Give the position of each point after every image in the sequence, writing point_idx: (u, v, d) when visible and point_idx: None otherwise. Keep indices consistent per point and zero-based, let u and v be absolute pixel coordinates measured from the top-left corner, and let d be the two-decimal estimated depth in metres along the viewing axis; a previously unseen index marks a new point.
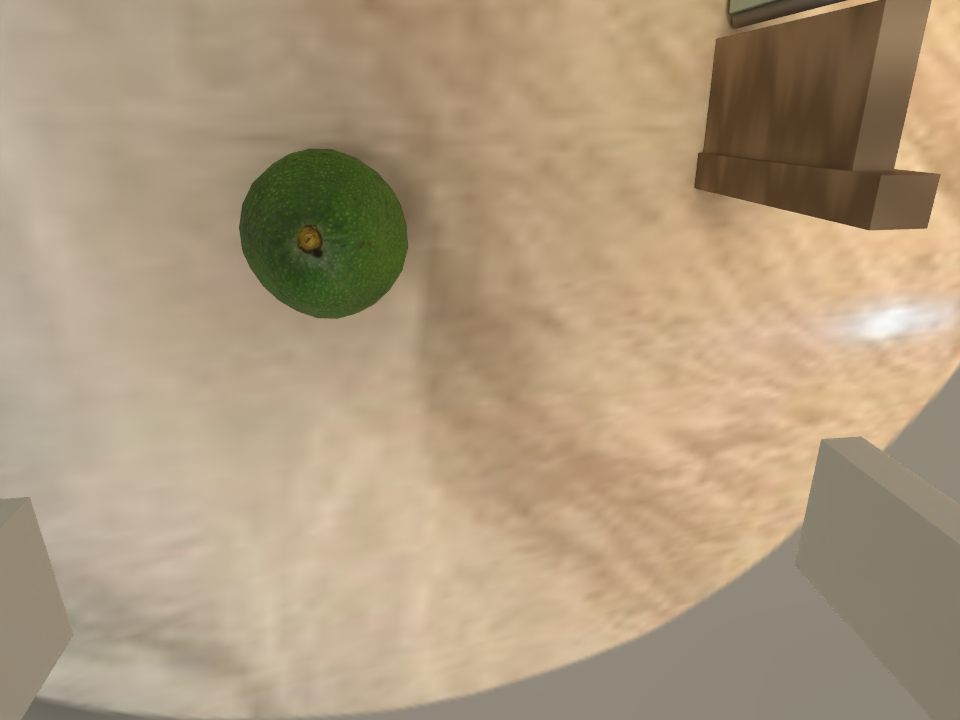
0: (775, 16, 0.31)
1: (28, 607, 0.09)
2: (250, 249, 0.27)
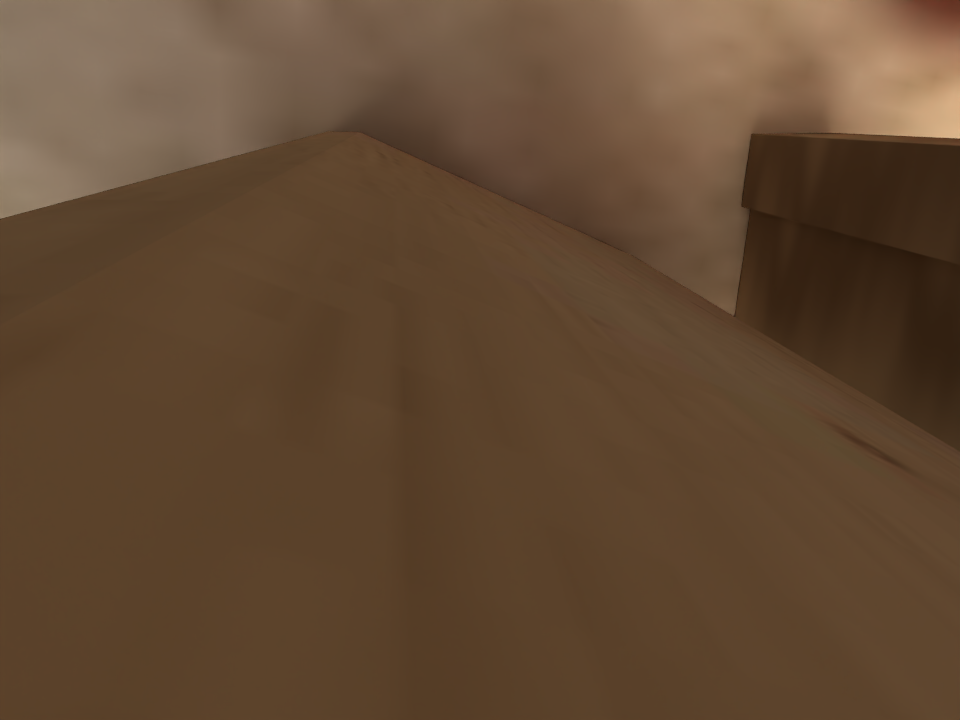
0: None
1: None
2: None
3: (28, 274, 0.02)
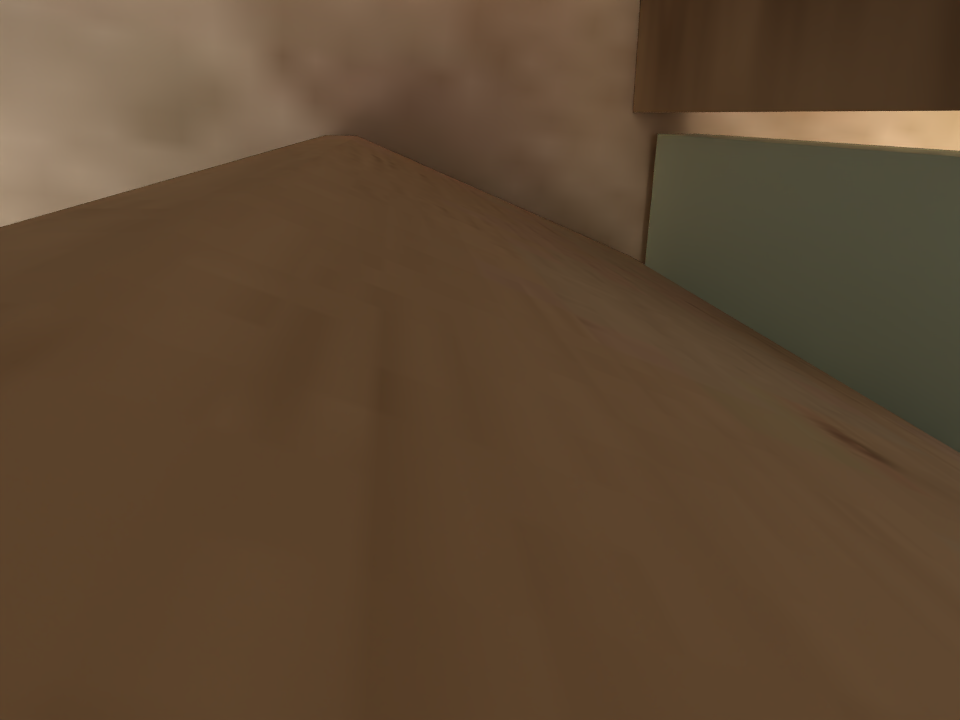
0: None
1: None
2: None
3: (18, 283, 0.02)
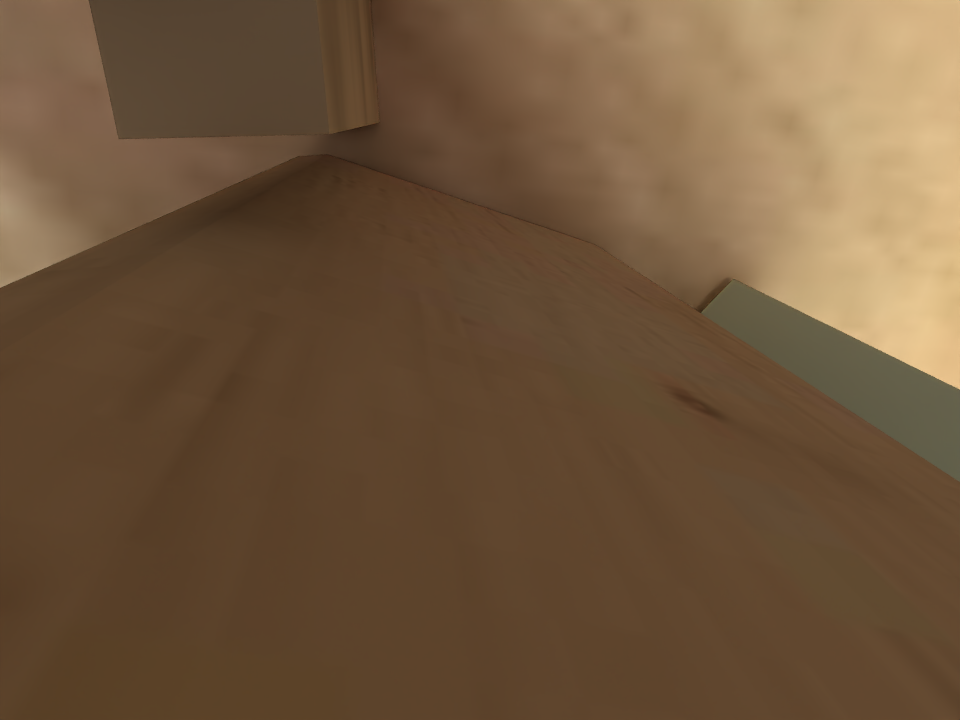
0: None
1: None
2: None
3: None
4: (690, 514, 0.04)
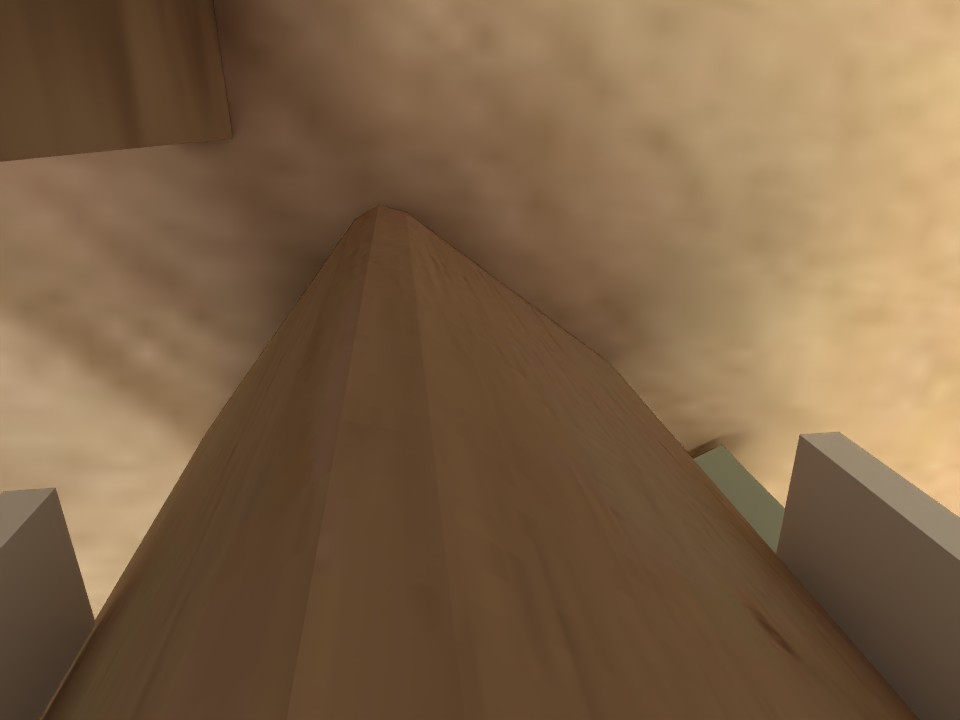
0: None
1: (54, 595, 0.10)
2: None
3: (415, 557, 0.04)
4: None
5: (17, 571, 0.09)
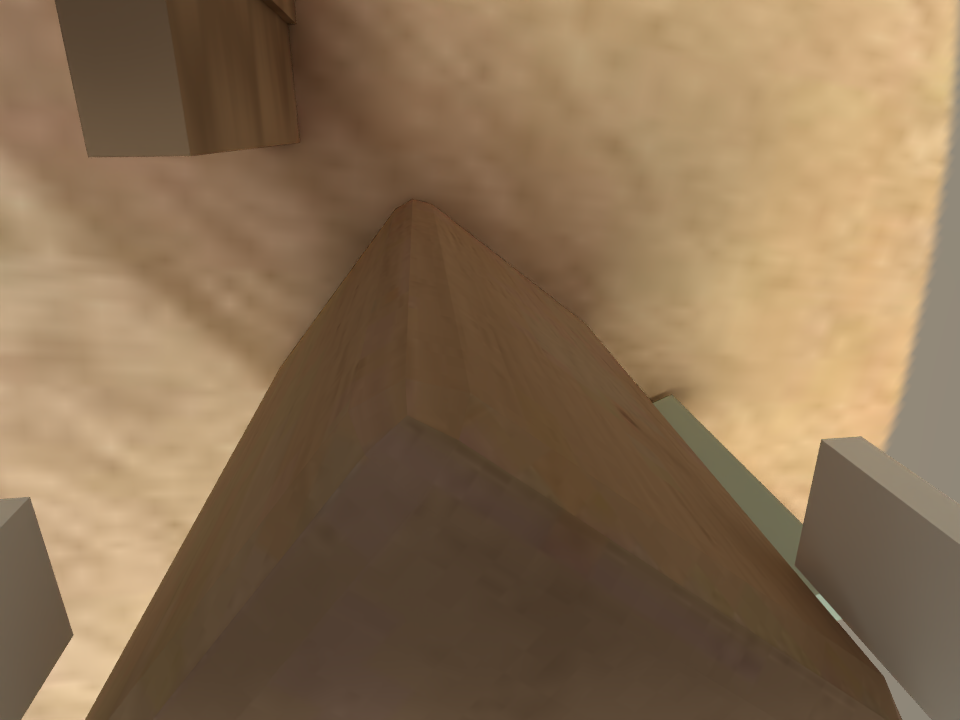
0: None
1: (28, 607, 0.09)
2: None
3: (443, 311, 0.10)
4: (620, 438, 0.11)
5: None
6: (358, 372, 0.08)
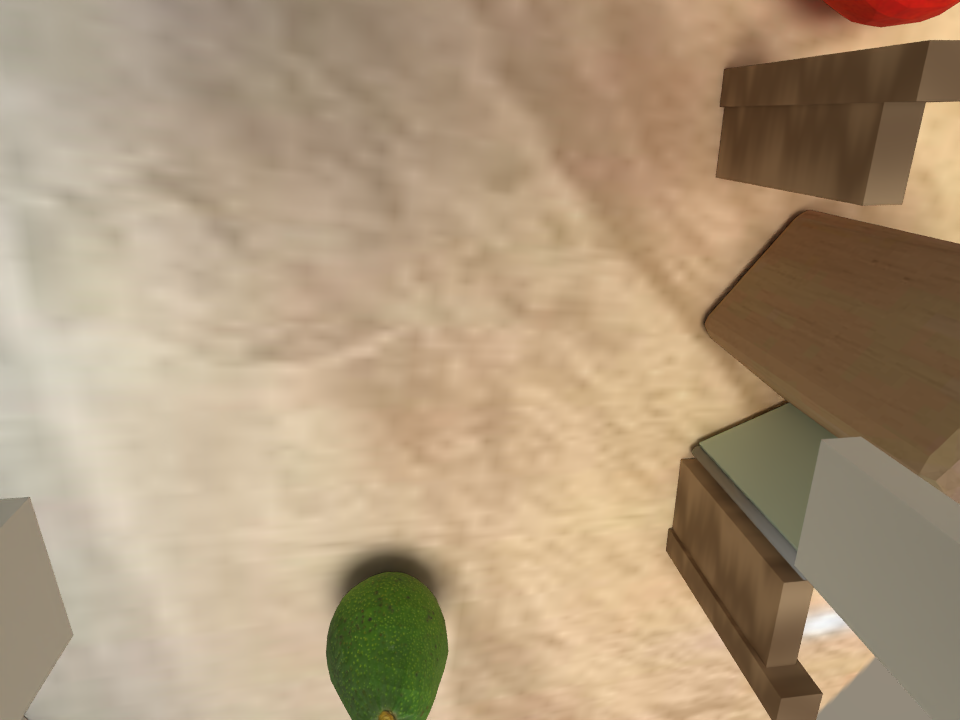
0: (718, 481, 0.41)
1: (28, 607, 0.09)
2: (339, 692, 0.38)
3: None
4: None
5: None
6: None
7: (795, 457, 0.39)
